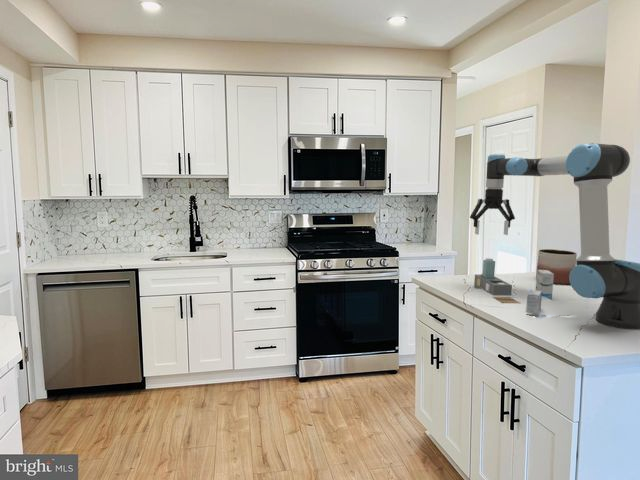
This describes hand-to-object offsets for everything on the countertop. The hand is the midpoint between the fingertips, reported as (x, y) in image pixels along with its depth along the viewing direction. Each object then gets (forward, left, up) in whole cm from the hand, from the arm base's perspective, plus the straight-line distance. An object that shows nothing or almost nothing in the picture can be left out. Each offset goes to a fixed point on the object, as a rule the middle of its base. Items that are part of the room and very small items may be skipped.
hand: (491, 234), depth 206 cm
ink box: (-13, -20, -27) cm, 36 cm away
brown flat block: (-24, +2, -26) cm, 36 cm away
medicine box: (-39, -2, -27) cm, 47 cm away
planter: (+20, -44, -27) cm, 55 cm away
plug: (0, 0, -24) cm, 24 cm away
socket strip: (-5, 0, -26) cm, 27 cm away
